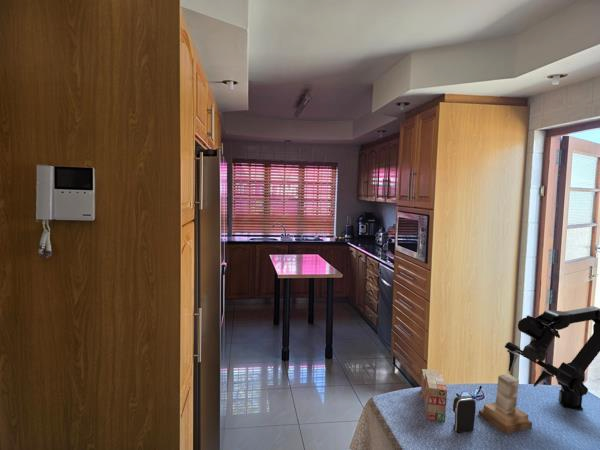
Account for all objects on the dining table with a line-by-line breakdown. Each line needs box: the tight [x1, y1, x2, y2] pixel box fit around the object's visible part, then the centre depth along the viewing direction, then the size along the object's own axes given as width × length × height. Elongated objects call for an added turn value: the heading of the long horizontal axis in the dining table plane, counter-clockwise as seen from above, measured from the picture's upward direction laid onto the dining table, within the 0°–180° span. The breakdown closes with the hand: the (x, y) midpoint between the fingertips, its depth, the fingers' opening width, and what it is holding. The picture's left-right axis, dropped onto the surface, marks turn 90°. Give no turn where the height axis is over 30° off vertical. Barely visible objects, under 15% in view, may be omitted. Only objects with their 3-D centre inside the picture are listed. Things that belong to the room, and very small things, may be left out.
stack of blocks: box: [420, 368, 448, 422], centre depth 150 cm, size 21×6×12 cm, turn 169°
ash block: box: [495, 373, 520, 414], centre depth 139 cm, size 4×4×12 cm
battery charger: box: [452, 395, 477, 433], centre depth 135 cm, size 7×4×11 cm, turn 103°
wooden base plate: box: [478, 408, 533, 435], centre depth 141 cm, size 12×12×2 cm
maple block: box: [483, 401, 529, 427], centre depth 140 cm, size 10×10×2 cm
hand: (521, 378), depth 148 cm, fingers open, 9 cm apart
